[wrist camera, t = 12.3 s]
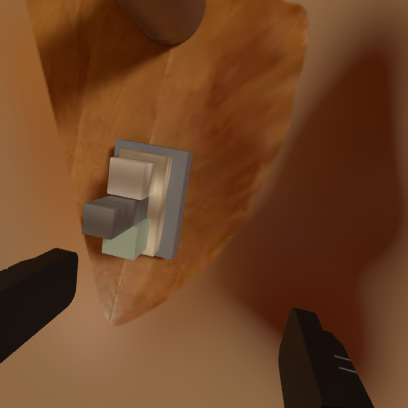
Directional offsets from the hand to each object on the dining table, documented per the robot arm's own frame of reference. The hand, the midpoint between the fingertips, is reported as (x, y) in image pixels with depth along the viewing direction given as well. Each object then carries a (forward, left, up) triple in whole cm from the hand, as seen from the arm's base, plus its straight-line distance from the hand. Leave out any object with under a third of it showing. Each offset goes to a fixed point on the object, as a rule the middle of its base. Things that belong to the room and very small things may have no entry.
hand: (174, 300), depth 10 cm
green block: (+6, -11, -23) cm, 26 cm away
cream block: (-1, -11, -23) cm, 25 cm away
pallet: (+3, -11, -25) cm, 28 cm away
